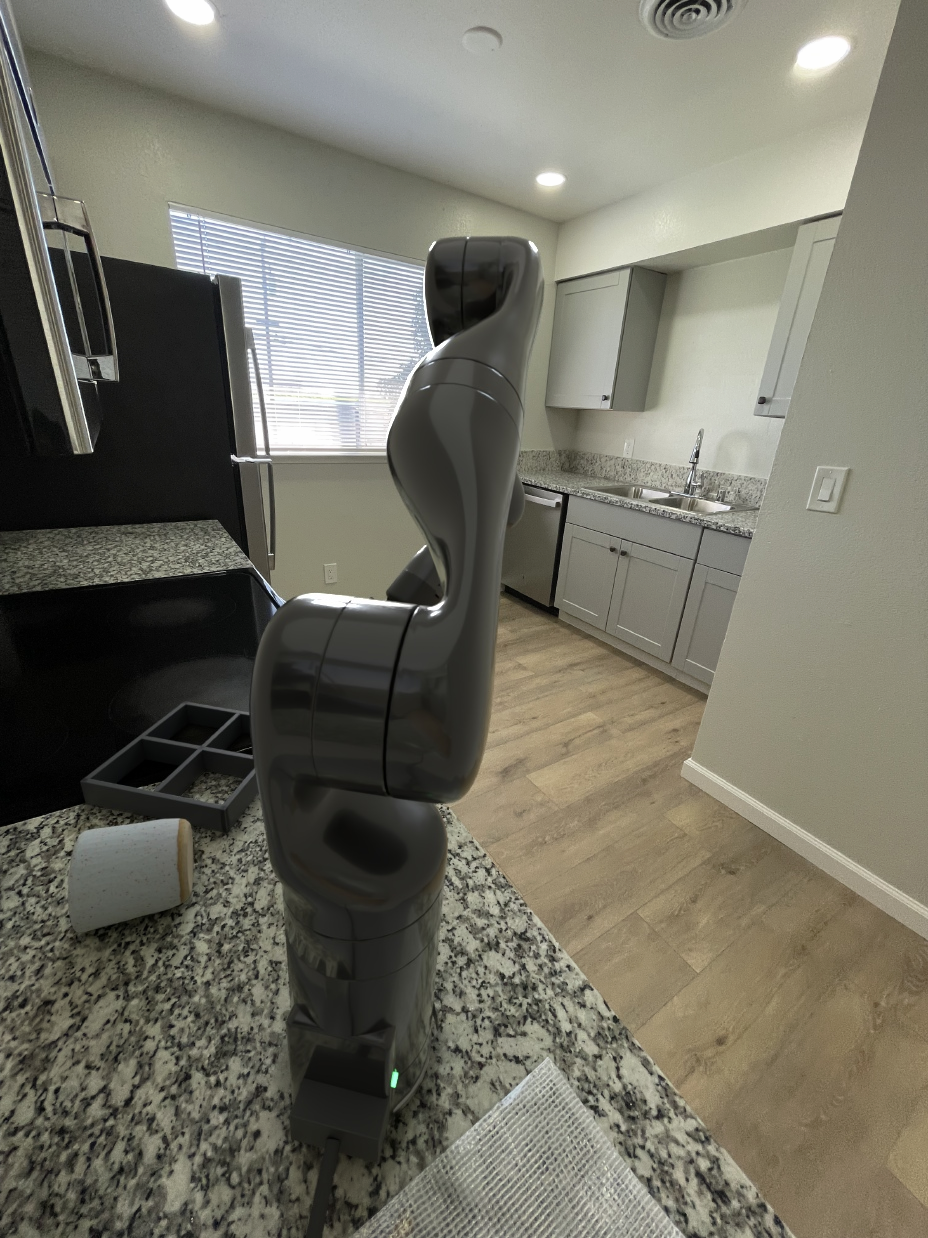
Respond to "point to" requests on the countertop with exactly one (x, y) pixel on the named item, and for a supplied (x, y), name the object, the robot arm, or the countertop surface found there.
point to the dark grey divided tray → (179, 769)
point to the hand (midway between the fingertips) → (354, 673)
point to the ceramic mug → (129, 872)
